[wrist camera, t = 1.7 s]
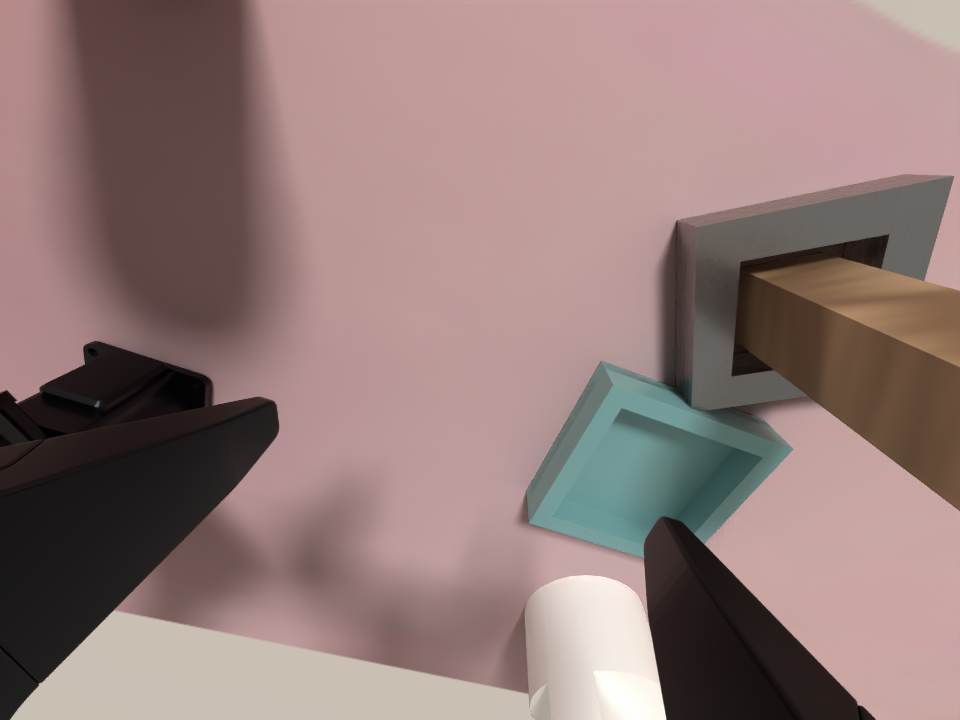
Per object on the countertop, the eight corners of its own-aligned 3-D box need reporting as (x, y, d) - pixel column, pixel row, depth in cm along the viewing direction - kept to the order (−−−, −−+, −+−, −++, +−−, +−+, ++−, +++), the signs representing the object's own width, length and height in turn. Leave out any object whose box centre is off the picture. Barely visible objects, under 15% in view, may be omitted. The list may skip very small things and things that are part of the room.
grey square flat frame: (675, 391, 21) (691, 412, 20) (676, 220, 17) (697, 227, 16) (859, 364, 20) (894, 384, 18) (904, 174, 16) (954, 175, 14)
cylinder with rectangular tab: (660, 627, 31) (746, 874, 20) (558, 656, 33) (585, 890, 23) (612, 560, 28) (682, 811, 17) (502, 598, 30) (504, 838, 19)
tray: (665, 534, 26) (680, 569, 24) (526, 491, 25) (528, 523, 23) (763, 419, 22) (793, 448, 20) (601, 360, 21) (613, 384, 18)
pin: (731, 337, 20) (1058, 585, 8) (737, 268, 18) (1147, 450, 7) (809, 325, 19) (1273, 569, 8) (821, 252, 18) (1424, 420, 6)
